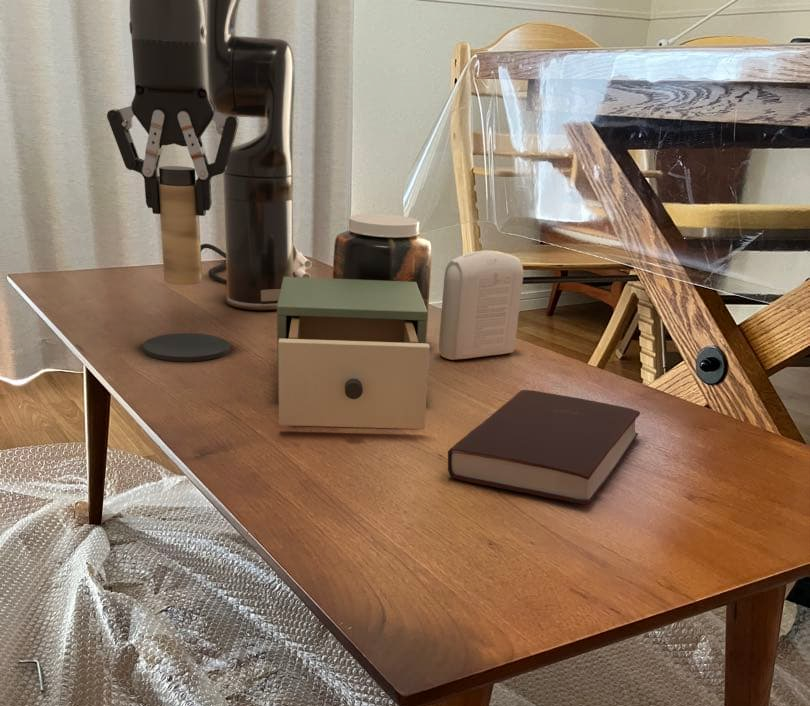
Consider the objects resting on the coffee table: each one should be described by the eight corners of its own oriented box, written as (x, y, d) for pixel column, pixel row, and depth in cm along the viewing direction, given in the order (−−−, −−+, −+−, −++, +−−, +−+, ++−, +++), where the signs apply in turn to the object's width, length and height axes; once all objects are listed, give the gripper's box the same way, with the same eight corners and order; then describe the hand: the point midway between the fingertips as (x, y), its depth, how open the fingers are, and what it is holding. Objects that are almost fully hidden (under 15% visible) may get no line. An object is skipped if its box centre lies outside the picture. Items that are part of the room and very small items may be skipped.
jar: (332, 356, 109) (335, 224, 102) (330, 330, 119) (332, 209, 112) (430, 359, 110) (439, 229, 103) (420, 333, 120) (428, 213, 113)
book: (443, 478, 78) (446, 443, 77) (517, 413, 94) (521, 383, 93) (585, 512, 74) (591, 475, 72) (638, 438, 90) (644, 407, 88)
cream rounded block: (498, 345, 117) (508, 245, 111) (519, 354, 114) (531, 252, 108) (432, 354, 112) (439, 250, 106) (453, 363, 109) (461, 257, 103)
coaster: (151, 336, 112) (150, 331, 112) (233, 339, 113) (233, 334, 113) (135, 360, 103) (135, 355, 103) (225, 363, 104) (225, 358, 104)
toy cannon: (278, 276, 155) (300, 253, 154) (297, 295, 143) (321, 270, 143) (244, 241, 150) (267, 218, 150) (261, 258, 139) (286, 233, 138)
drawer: (425, 434, 85) (431, 350, 81) (278, 430, 84) (277, 345, 80) (413, 387, 97) (418, 312, 93) (285, 383, 96) (284, 307, 92)
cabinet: (421, 406, 95) (427, 311, 90) (277, 402, 93) (276, 306, 89) (411, 366, 107) (416, 281, 102) (284, 362, 105) (283, 276, 101)
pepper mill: (167, 276, 106) (160, 165, 100) (204, 277, 106) (199, 167, 101) (161, 283, 102) (153, 168, 97) (199, 285, 103) (194, 170, 97)
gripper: (243, 42, 97) (247, 212, 105) (105, 34, 96) (120, 206, 104) (236, 41, 90) (241, 222, 98) (89, 32, 89) (106, 216, 97)
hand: (179, 213), depth 101 cm, fingers closed on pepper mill, 4 cm apart
